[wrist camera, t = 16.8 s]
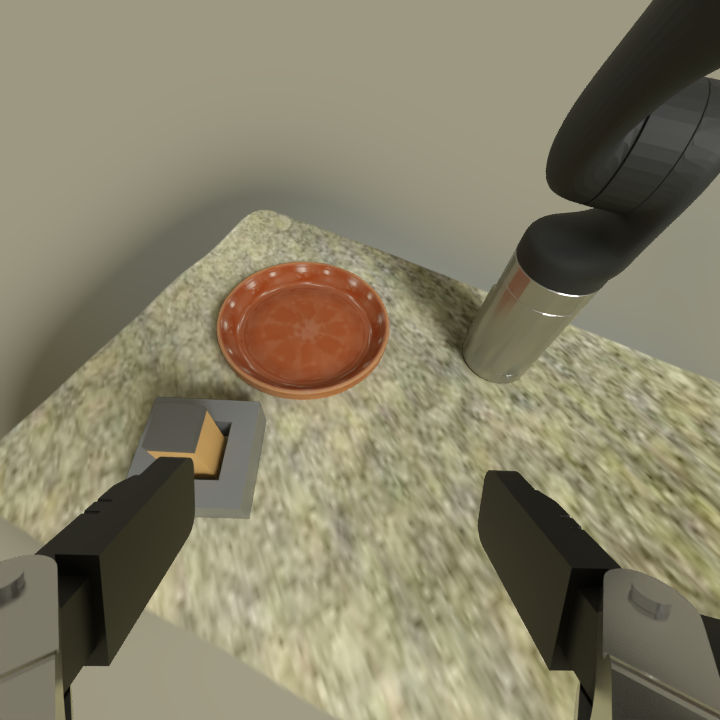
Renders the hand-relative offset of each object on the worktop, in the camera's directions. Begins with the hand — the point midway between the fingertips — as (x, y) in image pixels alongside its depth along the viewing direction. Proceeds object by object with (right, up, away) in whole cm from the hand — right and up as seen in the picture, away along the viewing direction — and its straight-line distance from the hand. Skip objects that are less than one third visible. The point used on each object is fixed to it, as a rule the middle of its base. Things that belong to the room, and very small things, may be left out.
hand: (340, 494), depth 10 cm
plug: (-16, -7, +29) cm, 34 cm away
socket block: (-16, -8, +30) cm, 35 cm away
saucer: (-7, +7, +41) cm, 43 cm away
